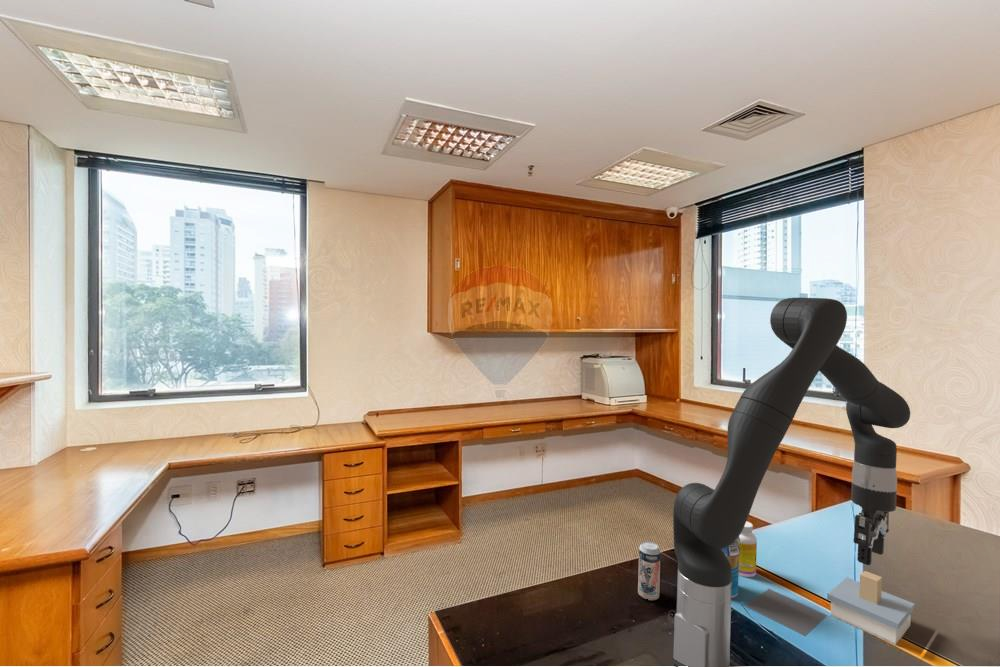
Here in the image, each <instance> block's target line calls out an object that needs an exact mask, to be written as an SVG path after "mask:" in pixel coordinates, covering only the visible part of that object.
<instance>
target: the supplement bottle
mask: <svg viewBox="0 0 1000 667" xmlns="http://www.w3.org/2000/svg"><path fill="white" fill-rule="evenodd" d="M753 528H754V525H753V523H751V522H749V521H746V523H745V526H744V528H743V530H742V532H741V534H740V535H739V538H740V542H739V543H738V545H739V547H740V555H739V575H738V577H739V576H740V577H743V578H752V577H755V576H756V574H757V551H758V550H757V549H758V548H757V544H758V542H757V541H758V540H757V537H756V535H755V533H753V530H754V529H753Z"/></svg>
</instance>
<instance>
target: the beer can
mask: <svg viewBox="0 0 1000 667" xmlns="http://www.w3.org/2000/svg"><path fill="white" fill-rule="evenodd" d="M660 574H661V549H660V547H659V546H658V544H656V543H655V542H651V541H643V542H641V543H640V545H639V549H638V584H637V594H638V595H639V596H640V597H641V598H643V600H646V599H648V600H647V601H656V600H658V599H659V598H660V581H661V580H660V579H661V578H660V576H661V575H660Z"/></svg>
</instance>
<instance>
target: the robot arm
mask: <svg viewBox="0 0 1000 667" xmlns="http://www.w3.org/2000/svg"><path fill="white" fill-rule="evenodd" d="M769 320H770V321H769V324H770V327H771V330H772V332H773V333H774V335H775V336H776V337H777V338H778V339H779V340H780V341H781V342H783V343H784V344H785V345H787V346H788V347H789V348H790V349H792V350H791V352H789V353H788V354H787V357H785V359H783V360H782V361H781V362H780V363H779V364H778V365H776V366H774V368H772V369H770V370H769V371H767V372H766V373H765V374H763V375H762V376H760V377H759V378H757V379H756V380H755V381H753V382H752V383H751V384H750V385H748V387H746V388H745V390H743V392H742V393H741V395H740V397H739V399H738V401H737V403H736V405H734V408H733V410H732V412H731V415H730V416H729V419H728V424H727V435H726V436H727V437H726V438H727V457H726V464H725V468H724V471H723V473H722V475H721V477H720V479H719V481H718V483H717V485H716V486H715V488H712V487H709V486H708V485H707V484H704V483H701V482H691V483H687V484H686V485H683V487H681V489H680V490H678V492H677V495H676V497H675V499H674V504H673V511H672V513H673V514H672V517H673V518H672V521H673V522H672V524H673V526H672V528H673V529H672V532H673V549H674V553H675V556H676V559H677V589H676V613H675V614H674V618H673V619H674V625H673V628H674V629H673V630H674V631H673V658H674V659H675V660H677V661H678V662H680V663H682V664H684V665H686V666H688V667H730V661H731V660H730V657H731V656H730V655H731V652H730V650H731V615H732V598H731V588H732V567H731V564H730V562H729V560H728V559H727V557H726V556H725V554H724V552H723V551H722V548H726V547H728V546H730V545H731V544H732V543H734V542H735V541H736V539H737V538H738V537H739V535H740V534H741V532H742V530H743V528H744V526H745V523H746V521H747V520H748V519H749V515H750V513H751V510H752V508H753V504H754V501H755V498H756V497H757V494H758V491H759V488H760V485H761V484H762V481H763V479H764V477H765V475H766V472H767V470H768V468H769V466H770V465H771V462H772V460H773V458H774V456H775V454H776V452H777V451H778V449H779V448H778V447H779V446H780V444H781V443H782V441H783V439H784V438H785V436H786V433H787V432H788V430H789V428H790V426H791V424H792V422H793V420H794V418H795V415H796V414H797V411H798V409H799V407H800V405H801V403H802V401H803V400H804V398H805V396H806V394H807V392H808V390H809V388H810V387H811V384H812V383H813V381H814V379H815V378H816V376H817V375H818V373H821V374H822V375H823V377H825V378H826V379H827V380H828V381H829V382H830V383H831V385H832V386H833V387H834V388H835V389H836V391H837V393H839V395H841V397H842V398H843V399H844V400H846V405H845V410H846V415H847V416H846V417H847V420H848V423H849V425H850V428H851V432H852V437H853V442H854V450H853V452H854V454H853V455H854V457H853V465H852V469H851V490H850V491H851V493H850V495H851V496H850V500H851V502H852V503H853V504H855V505H856V506H857V505H858V506H859V507H860V508H861V512H858V514H856V515H855V516H854V531H853V539H852V540H853V543H854V544H856V545H857V558H856V559H857V562H858V563H861V564H863V565H866V566H870V565H872V559H873V558H872V557H873V556H872V555H873V553H875V554H877V555H879V556H880V555H883V554H884V552H885V550H884V549H885V538H886V537H887V534H888V533H889V532H890V528H889V522H890V520H889V519H890V518H889V517H890V516H889V515H890V514H889V513H891V512H895V511H896V509H897V492H898V490H897V489H898V475H897V474H898V473H897V456H898V455H897V452H898V451H897V450H898V449H897V444H896V442H895V441H893V440H892V439H890V438H888V437H885V436H882V435H881V434H879V433H878V432H877V431H876V430H875V428H874V427H875V426H877V427H882V428H885V429H887V428H888V429H899V428H902V427H903V426H905V425H907V424H908V422H909V421H910V418H911V410H910V406H909V404H908V402H907V401H906V400H905V398H904V397H903V396H902V395H900V393H898V392H896V391H895V390H893V389H892V388H890V387H889V386H888V385H886V384H885V383H883V382H880V381H879V380H878V379H877V377H876V376H875V375H874V374H873V373H872V371H871V370H870V369H869V367H868V366H867V365H866V364H865V363H864V362H862V360H860V359H859V358H857V357H856V356H855V355H853V354H852V353H850V352H848V351H846V350H844V349H843V348H841V347H840V346H838V345H837V344H838V343H839V342H840V340H841V338H842V335H843V334H844V331H845V330H846V329H845V328H846V325H847V320H848V312H847V309H846V307H845V305H844V304H843V303H842V302H841V301H840V300H837V299H833V298H827V297H826V298H823V297H822V298H821V297H788V298H784V299H782V300H780V301H778V302H777V303H776V304H775V305H774V307H773V308H772V311H771V313H770V318H769ZM863 537H865V539H863Z"/></svg>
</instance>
